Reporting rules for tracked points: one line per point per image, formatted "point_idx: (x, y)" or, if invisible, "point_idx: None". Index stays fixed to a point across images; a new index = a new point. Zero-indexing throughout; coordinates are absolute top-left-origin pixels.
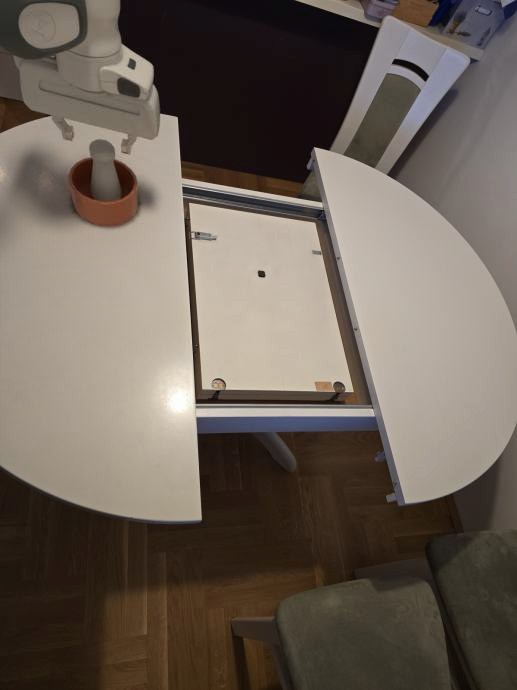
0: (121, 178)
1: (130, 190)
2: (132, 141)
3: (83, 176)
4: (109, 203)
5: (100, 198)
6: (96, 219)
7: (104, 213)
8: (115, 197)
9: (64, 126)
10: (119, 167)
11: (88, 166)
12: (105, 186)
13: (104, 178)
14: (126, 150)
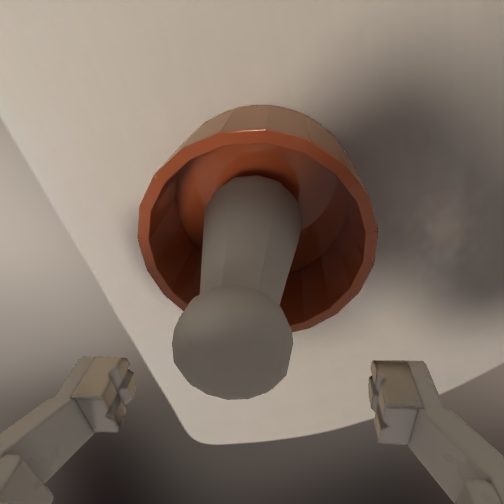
0: None
1: None
2: (5, 439)
3: (335, 262)
4: (196, 143)
5: (258, 184)
6: (261, 109)
7: (226, 120)
8: (212, 203)
9: (428, 438)
10: None
11: (323, 294)
12: (233, 218)
13: (231, 240)
14: (85, 374)
